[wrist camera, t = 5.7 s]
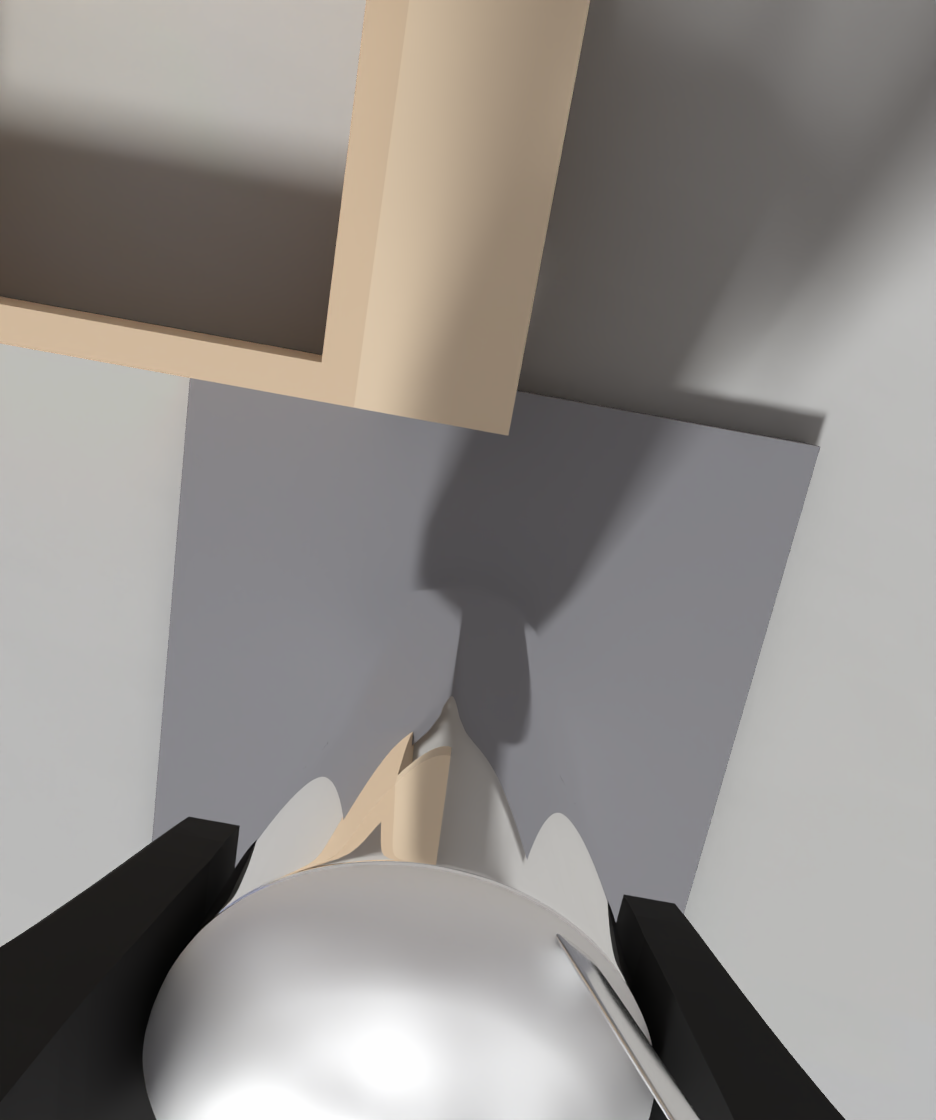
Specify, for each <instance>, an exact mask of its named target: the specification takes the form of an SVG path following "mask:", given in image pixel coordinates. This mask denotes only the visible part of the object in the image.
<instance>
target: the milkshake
mask: <svg viewBox="0 0 936 1120" xmlns="http://www.w3.org/2000/svg"><path fill="white" fill-rule="evenodd" d="M142 1061H143V1072H144V1079H145V1084H146V1090H147V1094H148V1098H149V1101H150V1104H151V1107H152V1109H153V1112H154V1115H155V1117H156V1120H649V1117H650V1113H651V1109H652V1105H653V1100H654V1098H655V1100H656V1101H657V1103H658V1104H659V1106H660V1108H661V1109H662V1111H663V1112H664V1114H665V1115H666V1117H667V1119H668V1120H702V1119H701V1118H700V1116H699V1115H698V1113H697V1112H696V1110H695V1109H694V1107H693V1106H692V1104H691V1103H690V1101H689V1100H688V1098H687V1097H686V1095H685V1094H684V1093H683V1091H682V1090H681V1088H680V1087H679V1085H678V1084H677V1082H676V1081H675V1079H674V1078H673V1076H672V1075H671V1073H670V1072H669V1070H668V1069H667V1067H666V1066H665V1064H664V1063H663V1061H662V1060H661V1059H660V1057H659V1056H658V1054H657V1053H656V1051H655V1050H654V1048H653V1047H652V1043H651V1039H650V1035H649V1032H648V1029H647V1026H646V1023H645V1021H644V1018H643V1016H642V1013H641V1010H640V1007H639V1003H638V999H637V996H636V992H635V989H634V985H633V982H632V978H631V975H630V971H629V968H628V964H627V961H626V957H625V954H624V950H623V947H622V943H621V939H620V936H619V932H618V929H617V925H616V922H615V918H614V915H613V911H612V908H611V904H610V901H609V897H608V894H607V890H606V887H605V883H604V880H603V876H602V873H601V869H600V866H599V862H598V859H597V855H596V851H595V848H594V844H593V841H592V837H591V833H590V830H589V826H588V822H587V817H586V813H585V808H584V804H583V800H582V795H581V791H580V787H579V783H578V778H577V774H576V770H575V766H574V762H573V757H572V753H571V749H570V745H569V741H568V737H567V732H566V728H565V724H564V720H563V716H562V712H561V708H560V703H559V699H558V695H557V691H556V687H555V683H554V679H553V674H552V670H551V666H550V662H549V658H548V654H547V651H546V649H545V648H544V646H543V644H542V643H541V641H540V639H539V637H538V636H537V634H536V632H535V631H534V629H533V627H532V625H531V624H530V622H529V620H528V618H527V617H526V615H525V613H524V611H523V610H522V608H521V606H520V605H518V604H516V603H514V602H512V601H509V600H507V599H505V598H503V597H500V596H498V595H496V594H494V593H491V592H489V591H487V590H485V589H483V588H480V587H478V586H476V585H474V584H472V583H469V582H467V583H461V584H455V585H450V586H444V587H438V588H431V589H425V590H419V591H414V592H412V593H411V594H410V595H409V597H408V598H407V599H406V600H405V601H404V602H403V603H402V604H401V605H400V606H399V607H398V608H397V609H396V610H395V611H394V612H393V613H392V614H391V615H390V616H389V617H388V618H387V619H386V620H385V621H384V622H383V623H382V624H381V625H380V626H379V627H378V628H377V629H376V630H375V632H374V634H373V635H372V637H371V639H370V640H369V642H368V644H367V646H366V647H365V649H364V651H363V653H362V654H361V656H360V658H359V660H358V661H357V663H356V665H355V667H354V668H353V670H352V672H351V673H350V675H349V677H348V679H347V680H346V682H345V684H344V686H343V687H342V689H341V691H340V693H339V694H338V696H337V698H336V700H335V701H334V703H333V705H332V707H331V708H330V710H329V712H328V714H327V715H326V717H325V719H324V721H323V722H322V724H321V726H320V728H319V729H318V731H317V733H316V735H315V736H314V738H313V740H312V742H311V743H310V745H309V747H308V749H307V751H306V752H305V754H304V756H303V758H302V759H301V761H300V763H299V765H298V766H297V768H296V770H295V772H294V774H293V775H292V777H291V779H290V781H289V782H288V784H287V786H286V787H285V789H284V791H283V792H282V794H281V796H280V797H279V799H278V800H277V802H276V804H275V805H274V807H273V808H272V810H271V812H270V813H269V815H268V816H267V818H266V820H265V821H264V823H263V824H262V826H261V827H260V829H259V831H258V832H257V834H256V835H255V837H254V839H253V840H252V842H251V843H250V845H249V847H248V848H247V850H246V851H245V853H244V855H243V856H242V858H241V859H240V861H239V862H238V864H237V866H236V867H235V869H234V870H233V872H232V874H231V875H230V877H229V878H228V880H227V882H226V883H225V885H224V886H223V888H222V889H221V891H220V893H219V894H218V896H217V897H216V899H215V901H214V902H213V904H212V905H211V907H210V909H209V910H208V912H207V913H206V915H205V917H204V918H203V920H202V921H201V923H200V924H199V926H198V928H197V929H196V931H195V932H194V934H193V936H192V937H191V939H190V941H189V942H188V944H187V946H186V947H185V949H184V950H183V952H182V953H181V954H180V955H179V957H178V958H177V960H176V961H175V963H174V964H173V966H172V967H171V969H170V970H169V972H168V974H167V976H166V978H165V980H164V982H163V984H162V986H161V988H160V990H159V993H158V995H157V997H156V1000H155V1002H154V1005H153V1008H152V1010H151V1014H150V1017H149V1021H148V1024H147V1028H146V1032H145V1038H144V1045H143V1058H142Z"/></svg>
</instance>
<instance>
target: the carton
mask: <svg viewBox="0 0 936 1120" xmlns="http://www.w3.org/2000/svg"><path fill="white" fill-rule="evenodd" d="M589 4H590V0H366V7H365V15H364V23H363V31H362V39H361V47H360V55H359V63H358V71H357V79H356V87H355V96H354V104H353V112H352V120H351V128H350V136H349V144H348V152H347V160H346V168H345V176H344V185H343V193H342V201H341V209H340V217H339V225H338V233H337V241H336V249H335V257H334V265H333V274H332V282H331V290H330V298H329V306H328V314H327V322H326V330H325V338H324V346H323V354H322V355H319V354H313V353H308V352H302V351H297V350H291V349H286V348H281V347H275V346H270V345H264V344H259V343H253V342H248V341H242V340H237V339H231V338H226V337H220V336H215V335H209V334H204V333H198V332H193V331H187V330H182V329H176V328H171V327H165V326H160V325H154V324H149V323H143V322H138V321H132V320H127V319H121V318H116V317H110V316H105V315H99V314H94V313H88V312H83V311H77V310H72V309H66V308H61V307H55V306H50V305H44V304H39V303H34V302H28V301H23V300H17V299H12V298H6V297H1V296H0V343H1V344H7V345H12V346H18V347H23V348H29V349H34V350H40V351H45V352H51V353H56V354H62V355H67V356H73V357H78V358H84V359H89V360H95V361H100V362H106V363H111V364H117V365H122V366H128V367H133V368H139V369H144V370H150V371H155V372H161V373H166V374H172V375H177V376H183V377H188V378H194V379H199V380H205V381H210V382H216V383H221V384H227V385H232V386H238V387H243V388H249V389H254V390H260V391H265V392H271V393H276V394H282V395H287V396H293V397H298V398H304V399H309V400H315V401H320V402H326V403H331V404H337V405H342V406H348V407H353V408H359V409H364V410H370V411H375V412H381V413H386V414H392V415H397V416H403V417H408V418H414V419H419V420H425V421H430V422H436V423H441V424H447V425H452V426H458V427H463V428H469V429H474V430H480V431H485V432H491V433H496V434H502V435H507V436H508V435H509V429H510V424H511V419H512V413H513V408H514V403H515V397H516V392H517V387H518V382H519V376H520V371H521V366H522V360H523V355H524V350H525V344H526V339H527V334H528V328H529V323H530V318H531V312H532V307H533V302H534V297H535V291H536V286H537V281H538V275H539V270H540V265H541V259H542V254H543V249H544V243H545V238H546V233H547V228H548V222H549V217H550V212H551V206H552V201H553V196H554V190H555V185H556V180H557V174H558V169H559V164H560V158H561V153H562V148H563V143H564V137H565V132H566V127H567V121H568V116H569V111H570V105H571V100H572V95H573V89H574V84H575V79H576V73H577V68H578V63H579V58H580V52H581V47H582V42H583V36H584V31H585V26H586V20H587V15H588V10H589Z"/></svg>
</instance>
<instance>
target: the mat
mask: <svg viewBox="0 0 936 1120" xmlns="http://www.w3.org/2000/svg"><path fill="white" fill-rule="evenodd" d="M819 449H820V447H819V446H815V445H812V444H807V443H802V442H796V441H791V440H785V439H780V438H774V437H769V436H763V435H758V434H753V433H747V432H742V431H736V430H731V429H725V428H720V427H714V426H709V425H703V424H698V423H692V422H687V421H681V420H676V419H670V418H665V417H659V416H654V415H648V414H643V413H637V412H632V411H626V410H621V409H615V408H610V407H604V406H599V405H593V404H588V403H582V402H577V401H571V400H566V399H560V398H555V397H549V396H544V395H538V394H533V393H527V392H522V391H517V392H516V397H515V403H514V408H513V413H512V419H511V424H510V429H509V435H508V436H507V435H502V434H496V433H491V432H485V431H480V430H474V429H469V428H463V427H458V426H452V425H447V424H441V423H436V422H430V421H425V420H419V419H414V418H408V417H403V416H397V415H392V414H386V413H381V412H375V411H370V410H364V409H359V408H353V407H348V406H342V405H337V404H331V403H326V402H320V401H315V400H309V399H304V398H298V397H293V396H287V395H282V394H276V393H271V392H265V391H260V390H254V389H249V388H243V387H238V386H232V385H227V384H221V383H216V382H210V381H205V380H199V379H194V378H190V382H189V395H188V407H187V419H186V431H185V444H184V456H183V468H182V481H181V493H180V505H179V517H178V530H177V542H176V554H175V566H174V579H173V591H172V603H171V615H170V628H169V640H168V652H167V664H166V677H165V689H164V701H163V713H162V726H161V738H160V750H159V763H158V775H157V787H156V799H155V812H154V824H153V836H152V842H153V841H154V840H156V839H157V838H158V837H160V836H161V835H162V834H164V833H165V832H167V831H168V830H170V829H171V828H172V827H174V826H175V825H177V824H178V823H180V822H181V821H183V820H184V819H186V818H187V817H195V818H200V819H206V820H211V821H217V822H223V823H228V824H234V825H239V826H240V828H239V837H238V846H237V854H236V863H235V867H236V866H237V864H238V862H239V861H240V859H241V858H242V856H243V855H244V853H245V851H246V850H247V848H248V847H249V845H250V843H251V842H252V840H253V839H254V837H255V835H256V834H257V832H258V831H259V829H260V827H261V826H262V824H263V823H264V821H265V820H266V818H267V816H268V815H269V813H270V812H271V810H272V808H273V807H274V805H275V804H276V802H277V800H278V799H279V797H280V796H281V794H282V792H283V791H284V789H285V787H286V786H287V784H288V782H289V781H290V779H291V777H292V775H293V774H294V772H295V770H296V768H297V766H298V765H299V763H300V761H301V759H302V758H303V756H304V754H305V752H306V751H307V749H308V747H309V745H310V743H311V742H312V740H313V738H314V736H315V735H316V733H317V731H318V729H319V728H320V726H321V724H322V722H323V721H324V719H325V717H326V715H327V714H328V712H329V710H330V708H331V707H332V705H333V703H334V701H335V700H336V698H337V696H338V694H339V693H340V691H341V689H342V687H343V686H344V684H345V682H346V680H347V679H348V677H349V675H350V673H351V672H352V670H353V668H354V667H355V665H356V663H357V661H358V660H359V658H360V656H361V654H362V653H363V651H364V649H365V647H366V646H367V644H368V642H369V640H370V639H371V637H372V635H373V634H374V632H375V630H376V629H377V628H378V627H379V626H380V625H381V624H382V623H383V622H384V621H385V620H386V619H387V618H388V617H389V616H390V615H391V614H392V613H393V612H394V611H395V610H396V609H397V608H398V607H399V606H400V605H401V604H402V603H403V602H404V601H405V600H406V599H407V598H408V597H409V595H410V594H411V593H412V592H414V591H419V590H425V589H431V588H438V587H444V586H450V585H455V584H461V583H467V582H469V583H472V584H474V585H476V586H478V587H480V588H483V589H485V590H487V591H489V592H491V593H494V594H496V595H498V596H500V597H503V598H505V599H507V600H509V601H512V602H514V603H516V604H518V605H520V606H521V608H522V610H523V611H524V613H525V615H526V617H527V618H528V620H529V622H530V624H531V625H532V627H533V629H534V631H535V632H536V634H537V636H538V637H539V639H540V641H541V643H542V644H543V646H544V648H545V649H546V651H547V654H548V658H549V662H550V666H551V670H552V674H553V679H554V683H555V687H556V691H557V695H558V699H559V703H560V708H561V712H562V716H563V720H564V724H565V728H566V732H567V737H568V741H569V745H570V749H571V753H572V757H573V762H574V766H575V770H576V774H577V778H578V783H579V787H580V791H581V795H582V800H583V804H584V808H585V813H586V817H587V822H588V826H589V830H590V833H591V837H592V841H593V844H594V848H595V851H596V855H597V859H598V862H599V866H600V869H601V873H602V876H603V880H604V883H605V887H606V890H607V894H608V897H609V901H610V904H611V908H612V911H613V915H614V918H615V922H616V921H617V917H618V914H619V910H620V906H621V902H622V899H623V895H624V894H625V895H630V896H636V897H641V898H647V899H653V900H658V901H664V902H669V903H675V904H676V905H677V907H678V908H679V909H680V911H681V912H682V913H683V914H684V911H685V908H686V904H687V901H688V897H689V894H690V891H691V887H692V884H693V880H694V877H695V873H696V870H697V867H698V863H699V860H700V856H701V853H702V850H703V846H704V843H705V839H706V836H707V832H708V829H709V826H710V822H711V819H712V815H713V812H714V808H715V805H716V802H717V798H718V795H719V791H720V788H721V785H722V781H723V778H724V774H725V771H726V767H727V764H728V761H729V757H730V754H731V750H732V747H733V744H734V740H735V737H736V733H737V730H738V726H739V723H740V720H741V716H742V713H743V709H744V706H745V702H746V699H747V696H748V692H749V689H750V685H751V682H752V679H753V675H754V672H755V668H756V665H757V661H758V658H759V655H760V651H761V648H762V644H763V641H764V637H765V634H766V631H767V627H768V624H769V620H770V617H771V614H772V610H773V607H774V603H775V600H776V596H777V593H778V590H779V586H780V583H781V579H782V576H783V572H784V569H785V566H786V562H787V559H788V555H789V552H790V549H791V545H792V542H793V538H794V535H795V531H796V528H797V525H798V521H799V518H800V514H801V511H802V508H803V504H804V501H805V497H806V494H807V490H808V487H809V484H810V480H811V477H812V473H813V470H814V466H815V463H816V460H817V456H818V453H819Z"/></svg>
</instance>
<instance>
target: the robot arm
mask: <svg viewBox="0 0 936 1120" xmlns="http://www.w3.org/2000/svg"><path fill="white" fill-rule="evenodd" d="M239 828H240V826H239V825H234V824H228V823H223V822H217V821H211V820H206V819H200V818H195V817H187V818H186V819H184V820H183V821H181V822H180V823H178V824H177V825H175V826H174V827H172V828H171V829H170V830H168V831H167V832H165V833H164V834H162V835H161V836H160V837H158V838H157V839H156V840H154V841H153V842H151V843H150V844H149V845H147V846H146V847H145V848H143V849H142V850H141V851H139V852H138V853H136V854H135V855H134V856H132V857H131V858H130V859H128V860H127V861H125V862H124V863H123V864H121V865H120V866H119V867H117V868H116V869H114V870H113V871H112V872H110V873H109V874H107V875H106V876H105V877H103V878H102V879H100V880H99V881H98V882H96V883H95V884H93V885H92V886H91V887H89V888H88V889H86V890H85V891H83V892H82V893H80V894H79V895H78V896H76V897H75V898H73V899H72V900H70V901H69V902H67V903H66V904H64V905H63V906H62V907H60V908H59V909H57V910H56V911H54V912H53V913H51V914H50V915H48V916H47V917H46V918H44V919H43V920H41V921H40V922H38V923H37V924H35V925H34V926H32V927H31V928H29V929H28V930H26V931H25V932H23V933H22V934H20V935H19V936H17V937H16V938H14V939H13V940H11V941H9V942H8V943H6V944H5V945H3V946H1V947H0V1120H156V1117H155V1115H154V1112H153V1109H152V1107H151V1104H150V1101H149V1098H148V1094H147V1090H146V1084H145V1079H144V1072H143V1061H142V1058H143V1045H144V1038H145V1032H146V1028H147V1024H148V1021H149V1017H150V1014H151V1010H152V1008H153V1005H154V1002H155V1000H156V997H157V995H158V993H159V990H160V988H161V986H162V984H163V982H164V980H165V978H166V976H167V974H168V972H169V970H170V969H171V967H172V966H173V964H174V963H175V961H176V960H177V958H178V957H179V955H180V954H181V953H182V952H183V950H184V949H185V947H186V946H187V944H188V942H189V941H190V939H191V937H192V936H193V934H194V932H195V931H196V929H197V928H198V926H199V924H200V923H201V921H202V920H203V918H204V917H205V915H206V913H207V912H208V910H209V909H210V907H211V905H212V904H213V902H214V901H215V899H216V897H217V896H218V894H219V893H220V891H221V889H222V888H223V886H224V885H225V883H226V882H227V880H228V878H229V877H230V875H231V874H232V872H233V870H234V869H235V863H236V854H237V846H238V837H239ZM616 925H617V929H618V932H619V936H620V939H621V943H622V947H623V950H624V954H625V957H626V961H627V964H628V968H629V971H630V975H631V978H632V982H633V985H634V989H635V992H636V996H637V999H638V1003H639V1007H640V1010H641V1013H642V1016H643V1018H644V1021H645V1023H646V1026H647V1029H648V1032H649V1035H650V1039H651V1043H652V1047H653V1048H654V1050H655V1051H656V1053H657V1054H658V1056H659V1057H660V1059H661V1060H662V1061H663V1063H664V1064H665V1066H666V1067H667V1069H668V1070H669V1072H670V1073H671V1075H672V1076H673V1078H674V1079H675V1081H676V1082H677V1084H678V1085H679V1087H680V1088H681V1090H682V1091H683V1093H684V1094H685V1095H686V1097H687V1098H688V1100H689V1101H690V1103H691V1104H692V1106H693V1107H694V1109H695V1110H696V1112H697V1113H698V1115H699V1116H700V1118H701V1119H702V1120H845V1119H844V1117H843V1116H842V1115H841V1114H840V1113H839V1112H838V1111H837V1109H836V1108H835V1107H834V1106H833V1105H832V1104H831V1103H830V1101H829V1100H828V1099H827V1098H826V1097H825V1095H824V1094H823V1093H822V1092H821V1091H820V1089H819V1088H818V1087H817V1086H816V1085H815V1083H814V1082H813V1081H812V1080H811V1078H810V1077H809V1076H808V1075H807V1074H806V1072H805V1071H804V1070H803V1069H802V1068H801V1066H800V1065H799V1064H798V1063H797V1061H796V1060H795V1059H794V1058H793V1056H792V1055H791V1054H790V1053H789V1052H788V1050H787V1049H786V1048H785V1047H784V1045H783V1044H782V1043H781V1041H780V1040H779V1039H778V1038H777V1036H776V1035H775V1034H774V1033H773V1031H772V1030H771V1029H770V1028H769V1026H768V1025H767V1024H766V1022H765V1021H764V1020H763V1019H762V1017H761V1016H760V1015H759V1013H758V1012H757V1011H756V1010H755V1008H754V1007H753V1006H752V1004H751V1003H750V1002H749V1000H748V999H747V998H746V997H745V995H744V994H743V993H742V991H741V990H740V989H739V987H738V986H737V985H736V983H735V982H734V981H733V979H732V978H731V977H730V975H729V974H728V973H727V971H726V970H725V969H724V967H723V966H722V965H721V963H720V962H719V961H718V959H717V958H716V957H715V955H714V954H713V953H712V951H711V950H710V949H709V947H708V946H707V945H706V943H705V942H704V941H703V939H702V938H701V937H700V935H699V934H698V933H697V931H696V930H695V929H694V927H693V926H692V925H691V923H690V922H689V921H688V920H687V918H686V917H685V916H684V914H683V913H682V912H681V911H680V909H679V908H678V907H677V905H676V904H675V903H669V902H664V901H658V900H653V899H647V898H641V897H636V896H630V895H625V894H624V895H623V899H622V902H621V906H620V910H619V914H618V917H617V921H616ZM649 1120H668V1119H667V1117H666V1115H665V1114H664V1112H663V1111H662V1109H661V1108H660V1106H659V1104H658V1103H657V1101H656V1100H655V1098H654V1100H653V1105H652V1109H651V1113H650V1117H649Z"/></svg>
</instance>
